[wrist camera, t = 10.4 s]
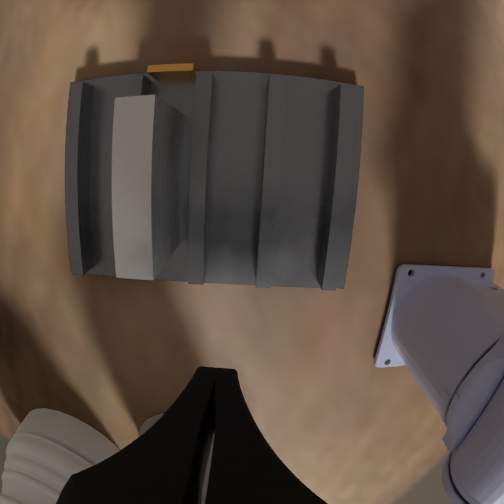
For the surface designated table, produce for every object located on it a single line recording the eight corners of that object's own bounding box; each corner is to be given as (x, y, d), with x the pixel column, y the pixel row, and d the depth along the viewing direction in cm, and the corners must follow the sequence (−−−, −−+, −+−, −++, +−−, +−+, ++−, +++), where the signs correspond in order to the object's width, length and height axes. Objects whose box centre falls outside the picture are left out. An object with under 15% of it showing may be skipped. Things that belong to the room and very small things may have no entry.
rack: (357, 89, 16) (373, 81, 14) (339, 282, 20) (351, 298, 17) (77, 85, 16) (58, 78, 13) (78, 267, 19) (59, 280, 17)
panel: (185, 115, 16) (155, 94, 10) (182, 240, 18) (153, 280, 12) (157, 115, 16) (114, 97, 10) (154, 239, 18) (116, 277, 12)
